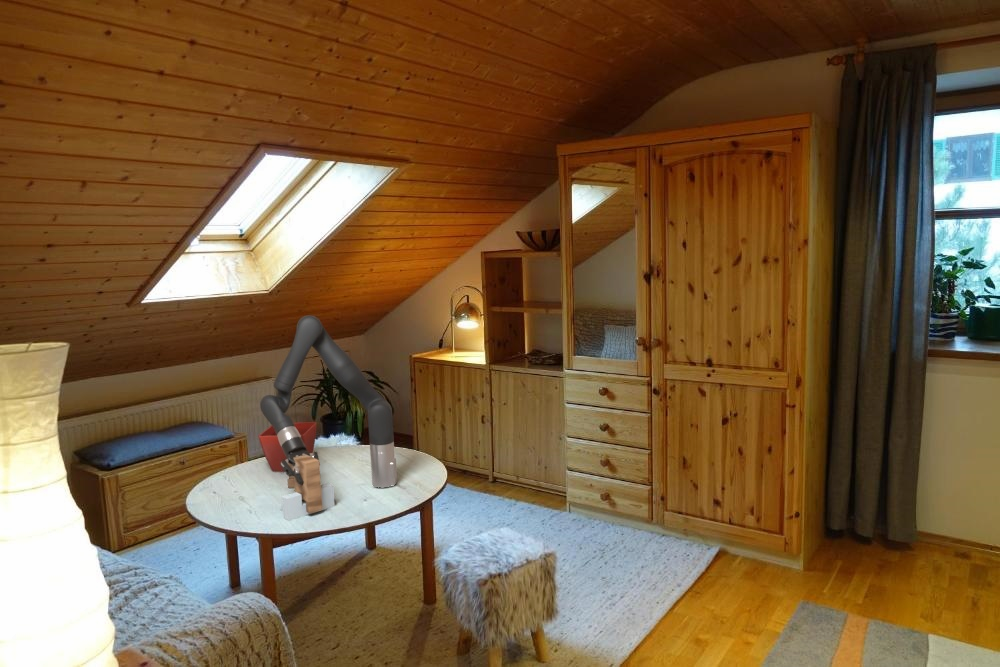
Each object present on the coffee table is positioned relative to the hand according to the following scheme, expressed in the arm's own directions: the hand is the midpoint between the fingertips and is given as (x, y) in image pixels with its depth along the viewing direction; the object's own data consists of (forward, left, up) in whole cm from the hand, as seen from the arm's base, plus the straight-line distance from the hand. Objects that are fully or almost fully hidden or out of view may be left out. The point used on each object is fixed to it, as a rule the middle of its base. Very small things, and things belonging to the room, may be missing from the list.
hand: (309, 481), depth 251 cm
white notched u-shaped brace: (+1, -1, -12) cm, 12 cm away
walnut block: (+1, -1, -10) cm, 10 cm away
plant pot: (+23, -51, -12) cm, 58 cm away
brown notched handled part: (+11, -27, -12) cm, 32 cm away
